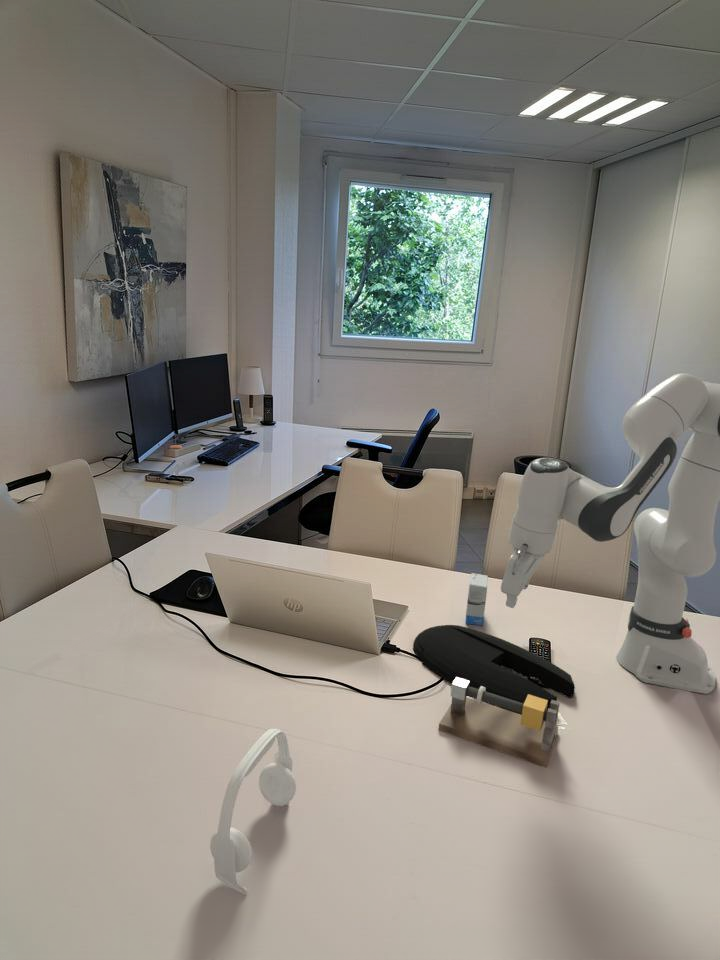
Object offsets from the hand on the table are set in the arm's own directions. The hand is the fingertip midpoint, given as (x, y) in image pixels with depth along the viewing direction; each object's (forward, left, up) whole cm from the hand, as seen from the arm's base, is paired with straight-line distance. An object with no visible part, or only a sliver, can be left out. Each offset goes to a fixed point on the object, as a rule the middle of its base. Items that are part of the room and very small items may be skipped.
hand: (516, 596), depth 137 cm
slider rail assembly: (-2, +9, -27) cm, 28 cm away
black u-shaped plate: (+7, -14, -28) cm, 32 cm away
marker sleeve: (-8, +9, -22) cm, 25 cm away
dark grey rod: (-3, +9, -22) cm, 23 cm away
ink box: (+17, -37, -27) cm, 49 cm away
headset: (+25, +57, -27) cm, 68 cm away
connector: (+7, +9, -25) cm, 28 cm away
